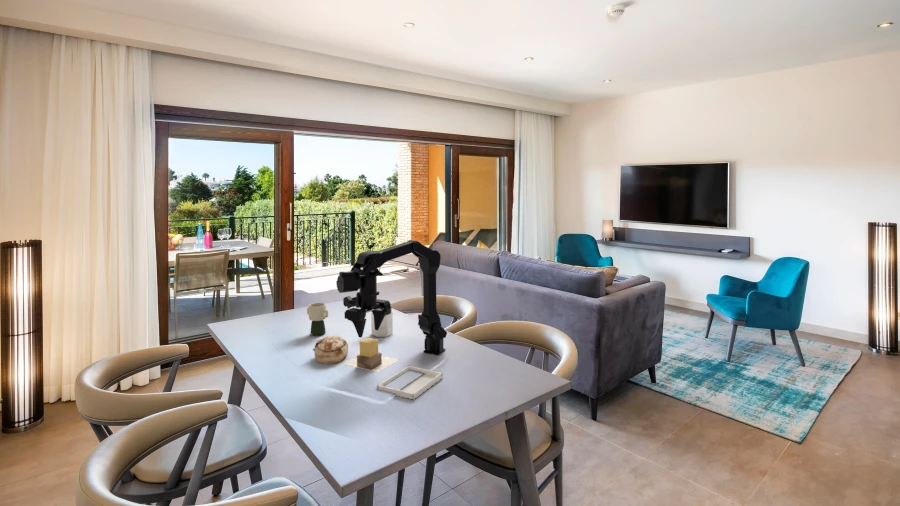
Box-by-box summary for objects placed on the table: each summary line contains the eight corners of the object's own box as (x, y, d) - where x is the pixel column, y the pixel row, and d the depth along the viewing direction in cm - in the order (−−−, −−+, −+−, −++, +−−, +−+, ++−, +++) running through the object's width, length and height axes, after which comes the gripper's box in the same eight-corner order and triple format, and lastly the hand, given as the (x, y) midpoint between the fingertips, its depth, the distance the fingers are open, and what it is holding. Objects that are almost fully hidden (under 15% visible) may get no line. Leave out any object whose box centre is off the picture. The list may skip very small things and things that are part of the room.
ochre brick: (378, 353, 160) (378, 339, 159) (370, 357, 156) (370, 343, 155) (367, 351, 162) (367, 337, 161) (359, 355, 158) (359, 341, 157)
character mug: (333, 333, 197) (333, 304, 195) (322, 338, 191) (322, 307, 189) (313, 330, 202) (312, 301, 200) (302, 334, 195) (301, 304, 193)
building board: (399, 361, 165) (399, 359, 165) (377, 374, 154) (377, 372, 154) (365, 354, 172) (365, 352, 172) (342, 366, 161) (342, 364, 160)
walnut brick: (381, 364, 161) (381, 353, 160) (371, 370, 156) (371, 358, 155) (367, 361, 164) (367, 350, 163) (357, 366, 158) (356, 355, 158)
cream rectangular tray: (442, 378, 151) (442, 372, 151) (413, 400, 135) (413, 394, 135) (408, 370, 157) (408, 365, 157) (376, 391, 141) (376, 385, 141)
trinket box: (339, 349, 178) (338, 329, 177) (358, 360, 167) (357, 339, 165) (305, 357, 169) (305, 336, 168) (323, 369, 158) (322, 347, 157)
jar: (371, 337, 192) (370, 309, 191) (371, 331, 200) (371, 304, 199) (392, 336, 193) (392, 309, 192) (392, 331, 201) (392, 304, 200)
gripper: (365, 282, 168) (366, 323, 170) (331, 291, 151) (332, 337, 153) (391, 285, 163) (391, 328, 165) (358, 295, 146) (358, 342, 148)
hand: (368, 333), depth 158 cm, fingers open, 9 cm apart
